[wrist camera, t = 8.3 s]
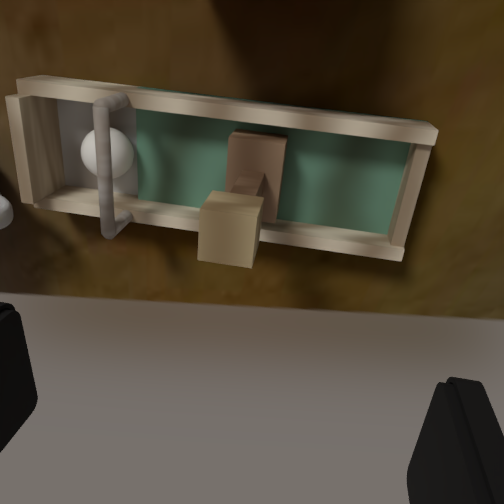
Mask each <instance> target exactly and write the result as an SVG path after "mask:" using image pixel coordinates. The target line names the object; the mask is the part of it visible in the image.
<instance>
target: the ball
mask: <svg viewBox="0 0 504 504" xmlns="http://www.w3.org/2000/svg"><path fill="white" fill-rule="evenodd" d="M110 138H111V157H112V176H113V178H117V177H120V176H122V175H123V174H125V173H126V172H127V171H128V170H129V168H130V167H131V165H132V163H133V158H134V151H133V147H132V144H131V142H130V140H129V139H128V138H127V136H126V135H125V134H123V133H122V132H121V131H119V130H117V129H114V128H110ZM81 157H82V160H83V163H84V165H85V166H86V168H87V169H88V170H89V171H90V172H91V173H93V174H94V175H96V176H97V164H96V150H95V135H94V130H93V131H91V132H90V133H88V134H87V135H86V137H85V138H84V140H83V142H82V145H81Z"/></svg>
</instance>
